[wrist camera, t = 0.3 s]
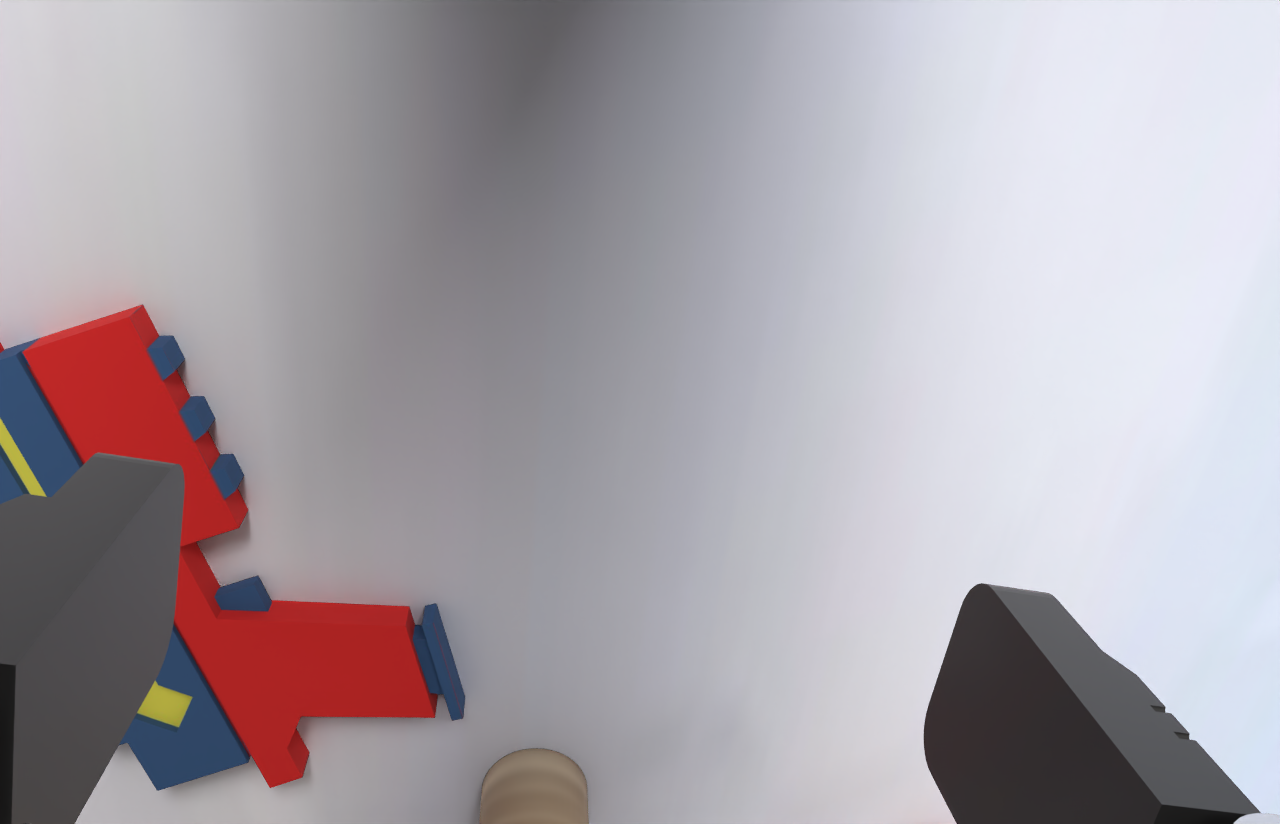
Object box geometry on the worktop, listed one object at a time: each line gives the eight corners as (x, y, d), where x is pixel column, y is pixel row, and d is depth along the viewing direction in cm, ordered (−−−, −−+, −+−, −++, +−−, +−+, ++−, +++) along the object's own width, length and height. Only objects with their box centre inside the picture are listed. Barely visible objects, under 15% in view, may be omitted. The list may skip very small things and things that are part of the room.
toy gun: (274, 230, 28) (-103, 355, 28) (260, 245, 26) (-137, 376, 27) (481, 691, 33) (165, 789, 34) (478, 724, 32) (149, 827, 32)
